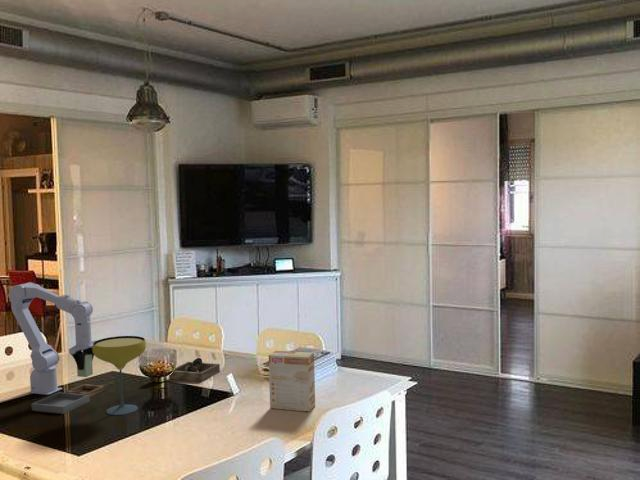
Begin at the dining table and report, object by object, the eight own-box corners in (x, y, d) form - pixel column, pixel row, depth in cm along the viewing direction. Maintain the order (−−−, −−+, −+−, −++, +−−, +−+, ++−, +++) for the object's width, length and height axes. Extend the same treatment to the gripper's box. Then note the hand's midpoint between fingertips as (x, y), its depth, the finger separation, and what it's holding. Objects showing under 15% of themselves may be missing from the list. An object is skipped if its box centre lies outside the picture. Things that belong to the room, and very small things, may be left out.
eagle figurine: (205, 373, 267) (206, 364, 276) (195, 361, 265) (196, 352, 274) (190, 383, 267) (192, 373, 276) (180, 371, 265) (182, 361, 274)
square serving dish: (169, 379, 264) (169, 371, 263) (188, 369, 278) (188, 361, 278) (202, 382, 259) (201, 373, 258) (219, 371, 273) (219, 364, 273)
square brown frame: (65, 395, 245) (65, 391, 245) (83, 387, 254) (83, 383, 254) (88, 397, 241) (87, 393, 241) (105, 389, 251) (105, 385, 251)
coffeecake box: (315, 406, 226) (314, 352, 225) (309, 412, 219) (307, 357, 218) (277, 402, 231) (275, 349, 230) (269, 408, 224) (268, 354, 223)
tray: (31, 410, 228) (31, 403, 228) (59, 398, 241) (59, 392, 241) (63, 413, 223) (63, 407, 223) (89, 401, 236) (89, 395, 236)
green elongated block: (77, 376, 246) (76, 356, 246) (84, 373, 250) (83, 353, 249) (86, 377, 245) (85, 356, 244) (92, 374, 249) (91, 354, 248)
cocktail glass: (99, 422, 214) (96, 349, 212) (92, 407, 230) (88, 339, 228) (153, 413, 222) (150, 343, 220) (142, 399, 238) (139, 333, 236)
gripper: (79, 338, 238) (80, 373, 239) (103, 330, 252) (105, 363, 253) (63, 337, 240) (65, 372, 241) (89, 329, 254) (90, 362, 255)
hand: (84, 367), depth 247 cm, fingers closed on green elongated block, 4 cm apart
